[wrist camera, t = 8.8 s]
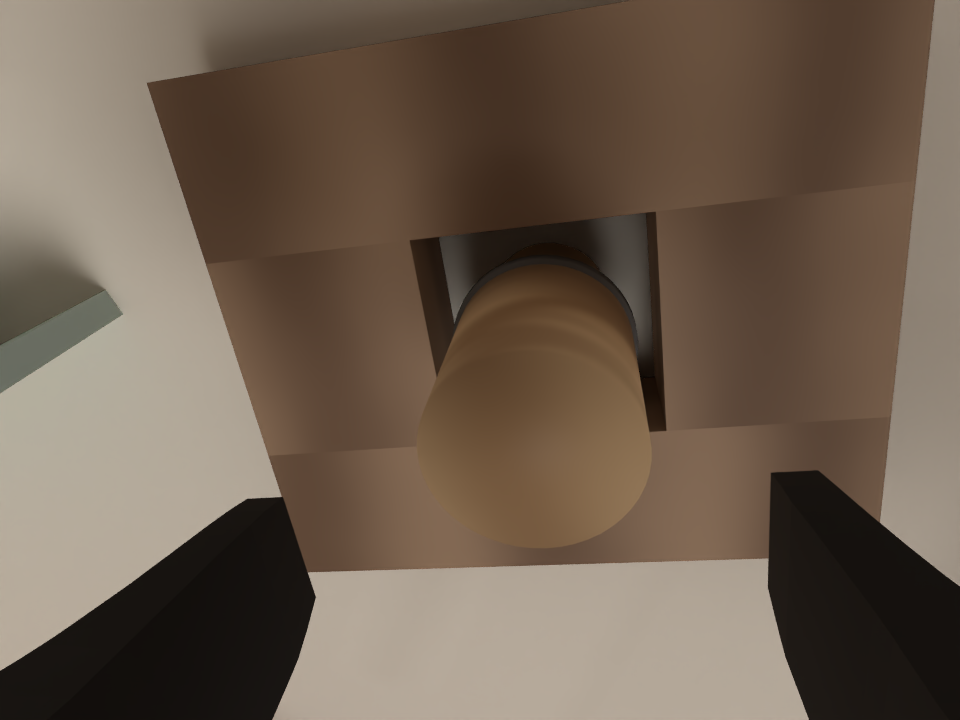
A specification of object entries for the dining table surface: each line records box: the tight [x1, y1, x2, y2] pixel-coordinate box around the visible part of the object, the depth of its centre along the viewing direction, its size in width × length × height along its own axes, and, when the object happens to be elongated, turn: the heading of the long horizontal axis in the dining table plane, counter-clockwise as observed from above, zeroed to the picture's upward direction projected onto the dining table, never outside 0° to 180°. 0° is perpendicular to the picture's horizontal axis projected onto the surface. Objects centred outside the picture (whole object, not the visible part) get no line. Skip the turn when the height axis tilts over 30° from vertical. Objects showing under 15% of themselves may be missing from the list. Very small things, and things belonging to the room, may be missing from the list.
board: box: [147, 0, 935, 572], centre depth 18 cm, size 16×14×3 cm
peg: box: [417, 243, 652, 548], centre depth 16 cm, size 4×4×8 cm
